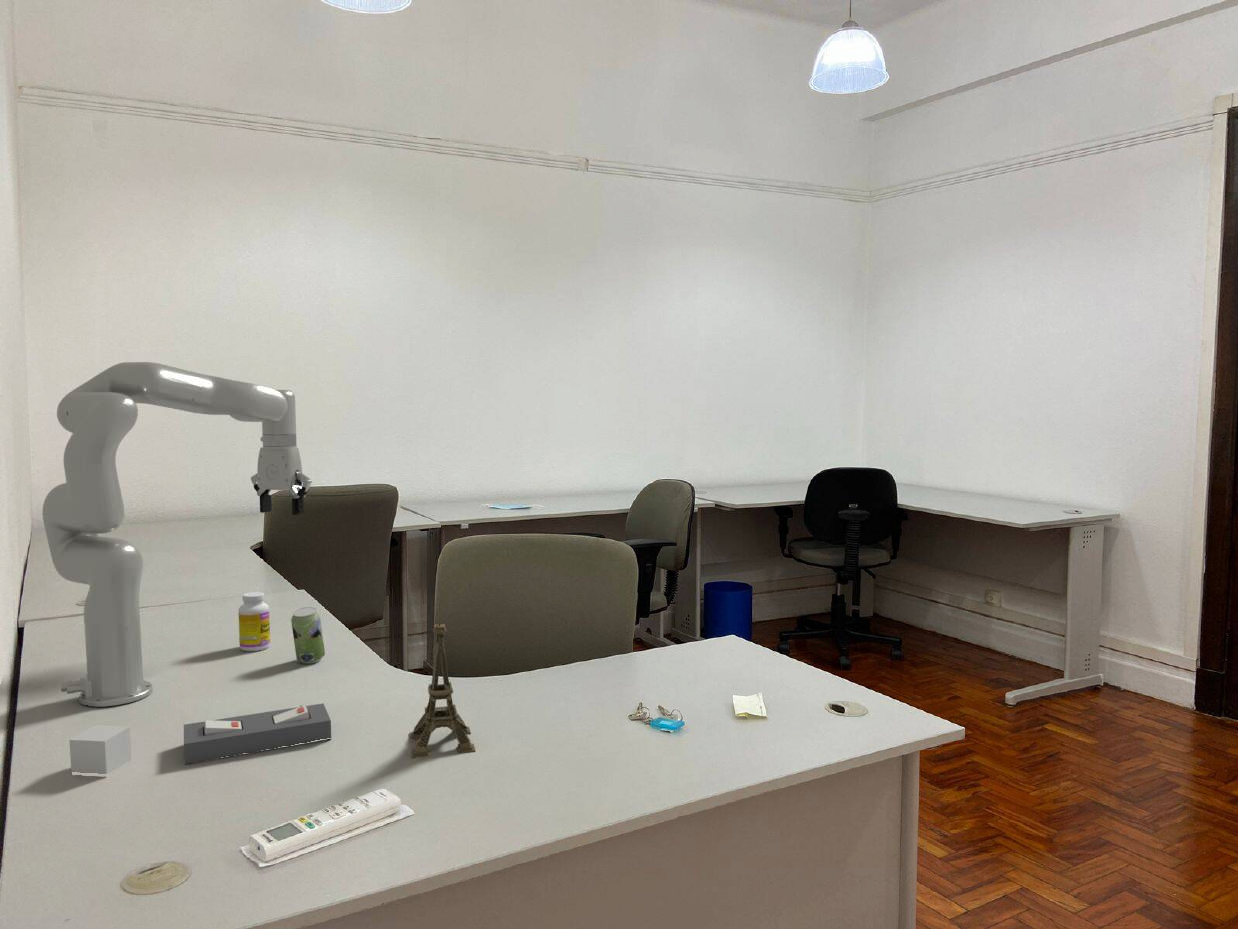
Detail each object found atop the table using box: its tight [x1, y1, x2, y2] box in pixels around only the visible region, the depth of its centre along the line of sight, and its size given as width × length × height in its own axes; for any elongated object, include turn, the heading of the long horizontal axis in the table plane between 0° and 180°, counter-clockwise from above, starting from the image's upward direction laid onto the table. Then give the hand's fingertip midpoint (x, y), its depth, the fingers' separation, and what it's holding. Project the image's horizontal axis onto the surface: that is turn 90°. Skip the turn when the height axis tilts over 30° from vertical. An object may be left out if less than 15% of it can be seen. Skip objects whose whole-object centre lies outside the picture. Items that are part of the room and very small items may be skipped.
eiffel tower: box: [408, 602, 476, 759], centre depth 152 cm, size 11×11×25 cm
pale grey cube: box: [69, 724, 132, 774], centre depth 142 cm, size 6×6×6 cm
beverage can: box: [290, 606, 326, 665], centre depth 196 cm, size 6×7×12 cm
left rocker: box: [204, 719, 242, 735], centre depth 150 cm, size 6×4×1 cm, turn 117°
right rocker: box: [273, 704, 310, 724], centre depth 155 cm, size 6×4×1 cm, turn 116°
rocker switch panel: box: [183, 703, 332, 765], centre depth 156 cm, size 23×16×4 cm
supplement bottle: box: [237, 591, 271, 652], centre depth 205 cm, size 7×7×13 cm
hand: (281, 513), depth 211 cm, fingers open, 9 cm apart
